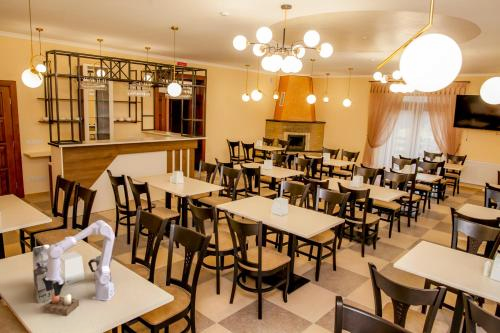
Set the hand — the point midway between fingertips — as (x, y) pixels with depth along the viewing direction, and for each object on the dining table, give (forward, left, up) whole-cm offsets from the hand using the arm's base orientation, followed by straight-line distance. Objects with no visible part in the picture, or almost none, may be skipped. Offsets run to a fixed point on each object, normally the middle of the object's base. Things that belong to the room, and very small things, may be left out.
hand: (53, 293), depth 181 cm
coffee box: (+15, -10, -11) cm, 21 cm away
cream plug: (-6, -3, -7) cm, 10 cm away
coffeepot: (-6, -35, -11) cm, 37 cm away
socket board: (-3, -3, -10) cm, 11 cm away
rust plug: (+1, -3, -7) cm, 8 cm away
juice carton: (+20, -19, -10) cm, 30 cm away
